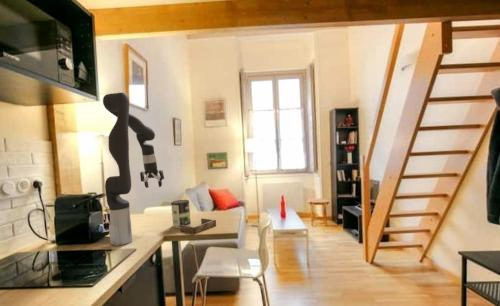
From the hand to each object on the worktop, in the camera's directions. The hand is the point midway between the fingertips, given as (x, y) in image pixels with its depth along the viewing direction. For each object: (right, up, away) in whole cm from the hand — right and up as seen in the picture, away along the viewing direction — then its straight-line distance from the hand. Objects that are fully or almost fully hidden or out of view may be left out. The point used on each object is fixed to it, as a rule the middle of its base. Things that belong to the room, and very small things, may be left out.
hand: (153, 187), depth 175 cm
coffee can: (+20, -21, -10) cm, 31 cm away
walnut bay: (+32, -20, -19) cm, 42 cm away
